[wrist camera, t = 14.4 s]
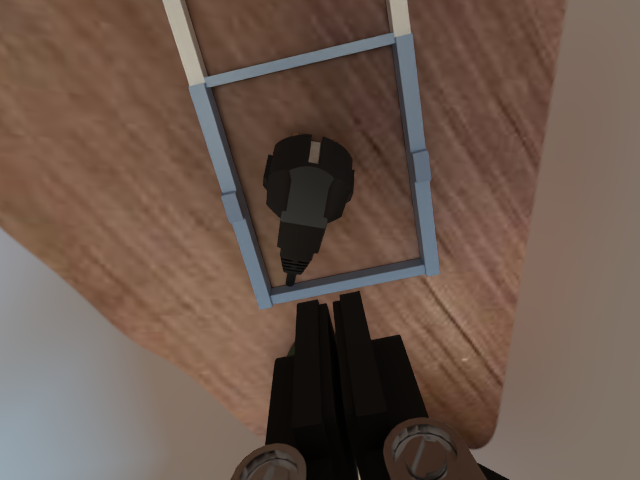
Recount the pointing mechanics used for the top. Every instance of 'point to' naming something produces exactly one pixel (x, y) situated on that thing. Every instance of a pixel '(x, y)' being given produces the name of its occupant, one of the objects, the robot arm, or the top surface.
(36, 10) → the top surface
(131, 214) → the top surface
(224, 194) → the blue cream pronged frame
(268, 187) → the power plug
